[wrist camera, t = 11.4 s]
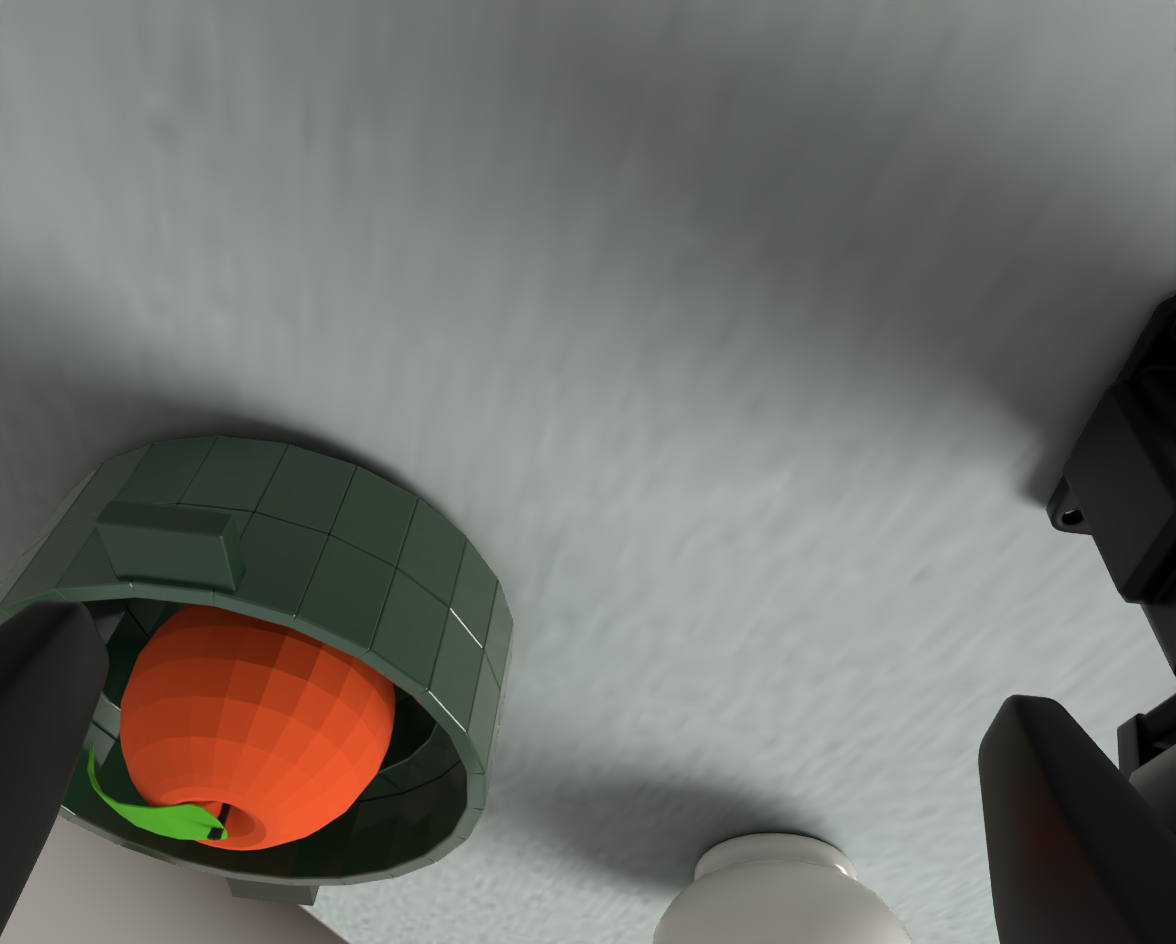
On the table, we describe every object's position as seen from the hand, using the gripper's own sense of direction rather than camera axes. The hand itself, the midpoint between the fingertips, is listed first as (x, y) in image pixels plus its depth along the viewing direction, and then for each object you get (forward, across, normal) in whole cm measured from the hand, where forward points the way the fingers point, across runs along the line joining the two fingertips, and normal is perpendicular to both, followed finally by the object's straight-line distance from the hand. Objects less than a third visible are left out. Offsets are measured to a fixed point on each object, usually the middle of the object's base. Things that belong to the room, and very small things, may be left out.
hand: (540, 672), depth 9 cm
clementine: (+12, +9, +14) cm, 21 cm away
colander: (+12, +9, +14) cm, 21 cm away
